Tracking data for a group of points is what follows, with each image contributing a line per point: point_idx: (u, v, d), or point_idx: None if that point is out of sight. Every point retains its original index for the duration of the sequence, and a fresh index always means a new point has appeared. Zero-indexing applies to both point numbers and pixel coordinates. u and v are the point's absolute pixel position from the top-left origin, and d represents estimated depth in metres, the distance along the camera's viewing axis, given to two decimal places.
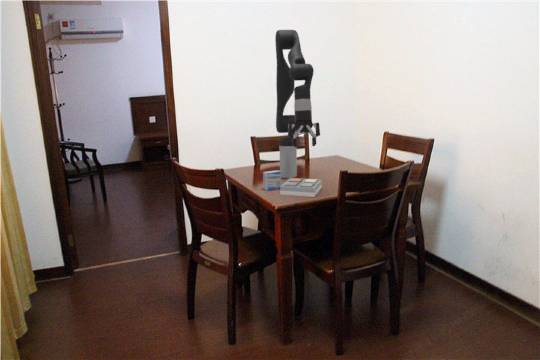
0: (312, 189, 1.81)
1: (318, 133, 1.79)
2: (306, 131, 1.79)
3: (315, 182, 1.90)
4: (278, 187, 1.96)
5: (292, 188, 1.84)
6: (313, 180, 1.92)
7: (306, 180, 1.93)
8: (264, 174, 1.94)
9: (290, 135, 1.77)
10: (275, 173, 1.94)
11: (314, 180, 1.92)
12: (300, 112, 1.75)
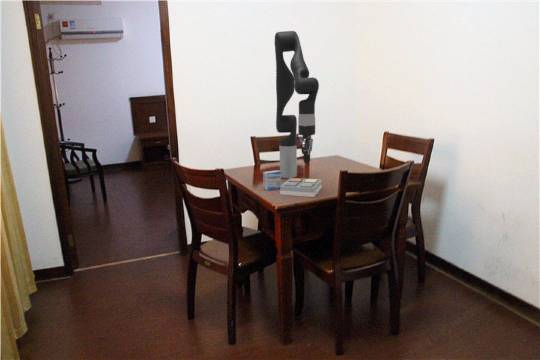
0: (312, 189, 1.81)
1: (311, 149, 1.84)
2: None
3: (315, 182, 1.90)
4: (278, 187, 1.96)
5: (292, 188, 1.84)
6: (313, 180, 1.92)
7: (306, 180, 1.93)
8: (264, 174, 1.94)
9: (307, 152, 1.78)
10: (275, 173, 1.94)
11: (314, 180, 1.92)
12: (312, 127, 1.76)
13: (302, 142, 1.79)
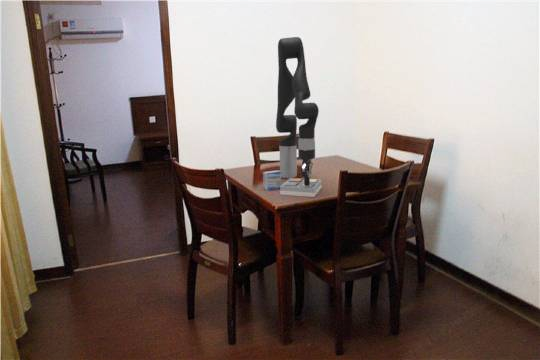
0: (312, 189, 1.81)
1: (310, 172, 1.86)
2: None
3: (315, 182, 1.90)
4: (278, 187, 1.96)
5: (292, 188, 1.84)
6: (313, 180, 1.92)
7: None
8: (264, 174, 1.94)
9: (308, 175, 1.81)
10: (275, 173, 1.94)
11: (314, 180, 1.92)
12: (312, 151, 1.79)
13: (302, 166, 1.82)
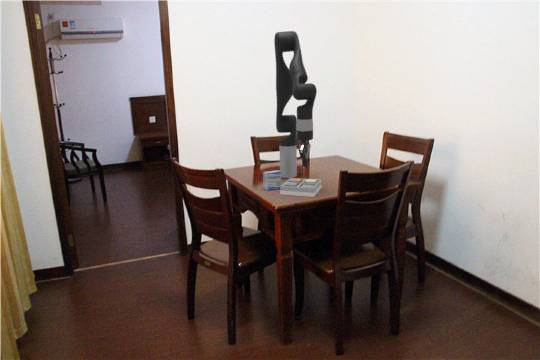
0: (312, 189, 1.81)
1: (308, 153, 1.86)
2: None
3: (315, 182, 1.90)
4: (278, 187, 1.96)
5: (292, 188, 1.84)
6: (313, 180, 1.92)
7: (306, 180, 1.93)
8: (264, 174, 1.94)
9: (306, 156, 1.82)
10: (275, 173, 1.94)
11: (314, 180, 1.92)
12: (310, 132, 1.79)
13: (300, 147, 1.82)
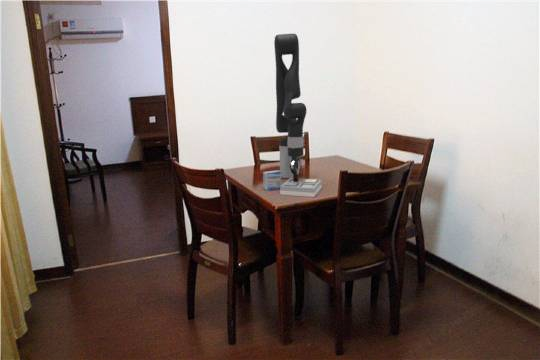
0: (312, 189, 1.81)
1: (299, 169, 1.95)
2: None
3: (315, 182, 1.90)
4: (278, 187, 1.96)
5: (292, 188, 1.84)
6: (313, 180, 1.92)
7: (306, 180, 1.93)
8: (264, 174, 1.94)
9: (296, 171, 1.91)
10: (275, 173, 1.94)
11: (314, 180, 1.92)
12: (300, 149, 1.88)
13: (291, 163, 1.91)
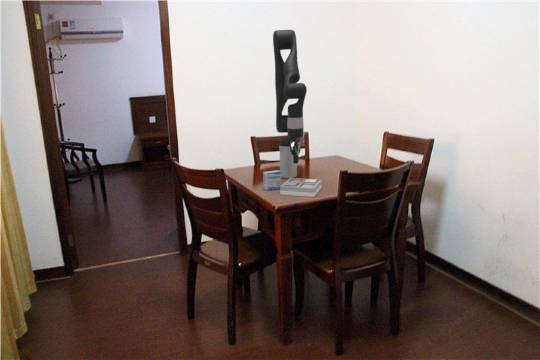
0: (312, 189, 1.81)
1: (299, 150, 1.93)
2: None
3: (315, 182, 1.90)
4: (278, 187, 1.96)
5: (292, 188, 1.84)
6: (313, 180, 1.92)
7: (306, 180, 1.93)
8: (264, 174, 1.94)
9: (296, 153, 1.89)
10: (275, 173, 1.94)
11: (314, 180, 1.92)
12: (300, 130, 1.86)
13: (291, 144, 1.89)
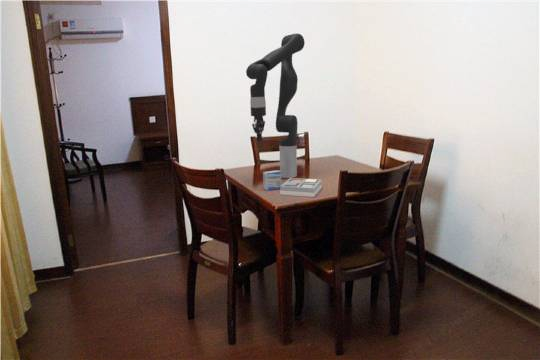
0: (312, 189, 1.81)
1: (262, 129, 2.04)
2: None
3: (315, 182, 1.90)
4: (278, 187, 1.96)
5: (292, 188, 1.84)
6: (313, 180, 1.92)
7: (306, 180, 1.93)
8: (264, 174, 1.94)
9: (259, 131, 1.99)
10: (275, 173, 1.94)
11: (314, 180, 1.92)
12: (262, 108, 1.96)
13: None
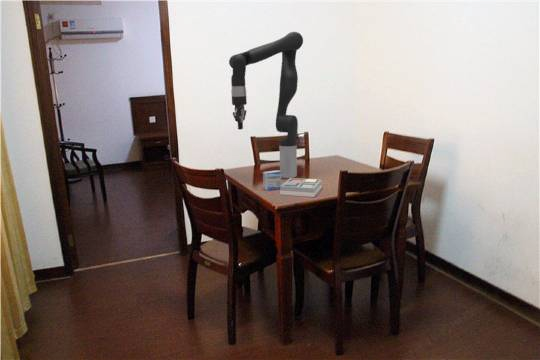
0: (312, 189, 1.81)
1: (244, 118, 2.10)
2: None
3: (315, 182, 1.90)
4: (278, 187, 1.96)
5: (292, 188, 1.84)
6: (313, 180, 1.92)
7: (306, 180, 1.93)
8: (264, 174, 1.94)
9: (240, 119, 2.06)
10: (275, 173, 1.94)
11: (314, 180, 1.92)
12: (243, 97, 2.03)
13: None
